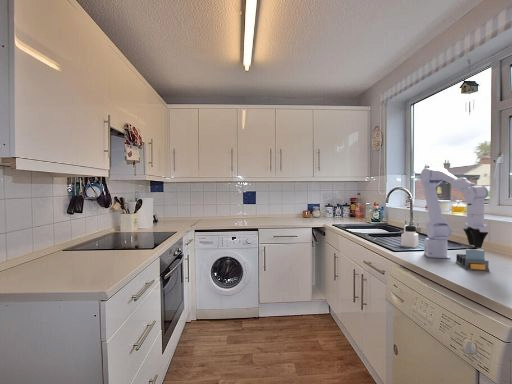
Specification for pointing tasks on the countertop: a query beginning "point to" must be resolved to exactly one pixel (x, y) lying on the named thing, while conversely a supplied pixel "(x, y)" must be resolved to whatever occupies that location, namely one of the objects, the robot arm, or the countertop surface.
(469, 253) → the panel
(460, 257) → the rack
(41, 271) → the countertop surface
